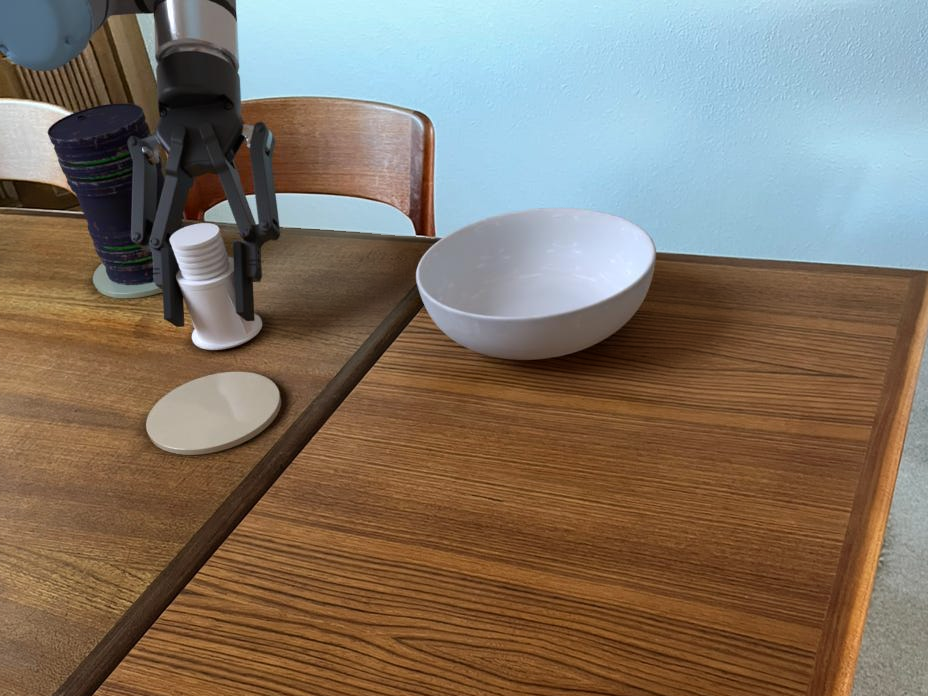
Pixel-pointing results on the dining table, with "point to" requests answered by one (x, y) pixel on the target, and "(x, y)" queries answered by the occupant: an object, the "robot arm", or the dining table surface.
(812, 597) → the dining table surface
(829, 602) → the dining table surface
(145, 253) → the storage jar
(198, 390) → the near coaster
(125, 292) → the far coaster
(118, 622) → the dining table surface
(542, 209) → the serving bowl
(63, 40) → the robot arm
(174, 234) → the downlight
